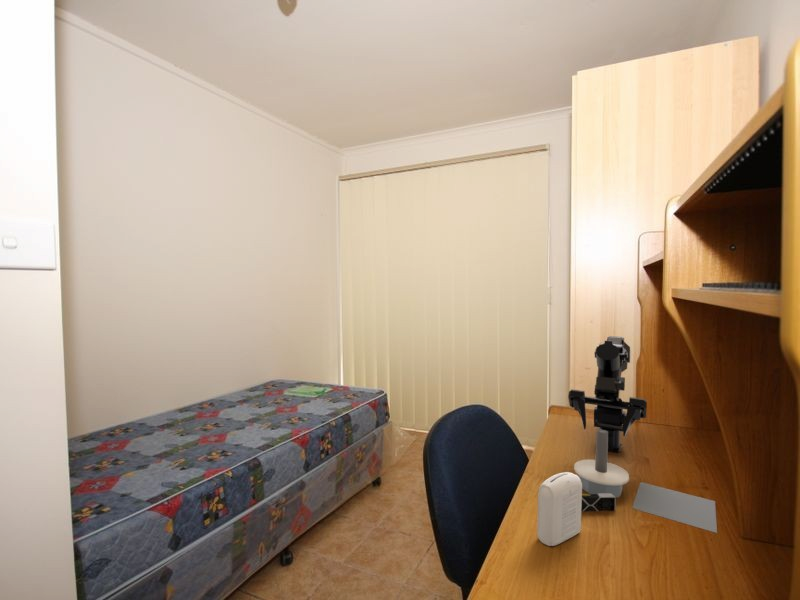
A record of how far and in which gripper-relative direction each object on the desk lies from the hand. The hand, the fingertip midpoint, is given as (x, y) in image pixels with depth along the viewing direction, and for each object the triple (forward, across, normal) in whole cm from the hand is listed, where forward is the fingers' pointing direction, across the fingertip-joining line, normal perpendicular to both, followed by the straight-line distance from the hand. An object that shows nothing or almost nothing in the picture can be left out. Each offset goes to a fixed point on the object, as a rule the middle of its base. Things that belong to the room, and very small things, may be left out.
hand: (603, 432), depth 106 cm
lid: (+11, 0, 0) cm, 11 cm away
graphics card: (+22, -2, -5) cm, 23 cm away
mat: (+14, +15, +3) cm, 21 cm away
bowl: (+14, 0, +3) cm, 14 cm away
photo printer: (+31, -6, -14) cm, 35 cm away
